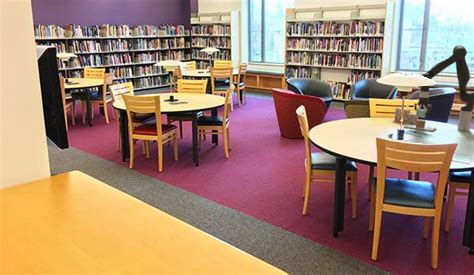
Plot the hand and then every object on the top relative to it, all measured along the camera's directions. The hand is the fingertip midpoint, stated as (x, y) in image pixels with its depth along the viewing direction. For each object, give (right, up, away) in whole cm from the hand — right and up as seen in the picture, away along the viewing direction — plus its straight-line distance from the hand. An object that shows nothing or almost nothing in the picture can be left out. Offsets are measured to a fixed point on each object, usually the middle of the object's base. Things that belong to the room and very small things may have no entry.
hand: (421, 115), depth 359 cm
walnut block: (0, -10, +3) cm, 10 cm away
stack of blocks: (-1, -5, +32) cm, 32 cm away
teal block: (0, -1, 0) cm, 1 cm away
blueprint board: (0, -11, +3) cm, 12 cm away
